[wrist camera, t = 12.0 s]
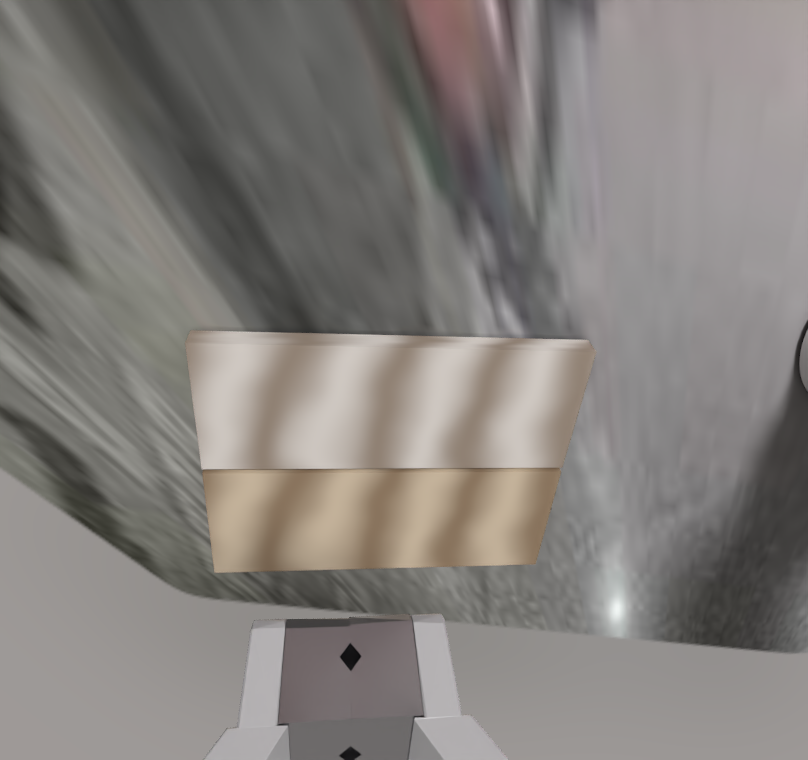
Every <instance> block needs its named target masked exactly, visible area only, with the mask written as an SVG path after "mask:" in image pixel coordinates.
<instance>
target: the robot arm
mask: <svg viewBox="0 0 808 760" xmlns="http://www.w3.org/2000/svg"><path fill="white" fill-rule="evenodd" d="M799 365H800V375H801V379H802V382H803V384H804V386H805V388H806V390H807V391H808V330H807V332H806V334H805V337H804V340H803V343H802V347H801V352H800V363H799ZM203 760H509V759H508V758H507V757H506V756H505V754H504V753H503V752H502V751H501V750H500V748H499V747H498V746H497V745H496V744H495V742H494V741H493V740H492V739H491V738H490V736H489V735H488V734H487V733H486V732H485V730H484V729H483V728H482V727H481V726H480V724H479V723H478V722H477V721H476V720H475V718H474V717H473V716H472V715H462V712H461V707H460V701H459V696H458V691H457V685H456V679H455V674H454V668H453V663H452V657H451V652H450V646H449V641H448V635H447V629H446V624H445V620H444V618H443V616H442V615H441V614H422V615H409V614H401V615H382V616H362V617H349V618H344V619H343V618H338V619H276V620H254V622H253V625H252V628H251V631H250V638H249V645H248V652H247V659H246V666H245V673H244V680H243V687H242V695H241V702H240V709H239V716H238V723H237V728H227V729H226V730H225V731H224V733H223V734H222V735H221V737H220V738H219V739H218V741H217V742H216V744H215V745H214V746H213V747H212V748H211V750H210V751H209V753H208V754H207V755H206V756H205V758H204V759H203Z"/></svg>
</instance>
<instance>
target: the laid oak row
mask: <svg viewBox="0 0 808 760" xmlns="http://www.w3.org/2000/svg"><path fill="white" fill-rule="evenodd" d="M560 474H561V471H560V469H559V468H383V469H204V470H203V482H204V491H205V499H206V507H207V515H208V523H209V531H210V539H211V547H212V556H213V564H214V572H215V573H225V572H263V571H300V570H338V569H376V568H413V567H451V566H489V565H526V564H536V560H537V557H538V553H539V550H540V546H541V542H542V539H543V535H544V532H545V528H546V524H547V521H548V517H549V514H550V510H551V506H552V503H553V499H554V496H555V492H556V488H557V485H558V481H559V478H560Z"/></svg>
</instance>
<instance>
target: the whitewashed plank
mask: <svg viewBox="0 0 808 760" xmlns="http://www.w3.org/2000/svg"><path fill="white" fill-rule="evenodd" d="M185 346H186V353H187V361H188V368H189V376H190V383H191V391H192V398H193V406H194V414H195V421H196V429H197V436H198V444H199V451H200V459H201V466H202V469H383V468H562V467H563V463H564V460H565V457H566V453H567V450H568V447H569V443H570V440H571V436H572V433H573V430H574V426H575V423H576V419H577V416H578V413H579V409H580V406H581V403H582V399H583V396H584V392H585V389H586V386H587V382H588V379H589V375H590V372H591V369H592V365H593V362H594V359H595V355H596V351H595V349H594V348H593V346H592V345H591V344H590V342H589V341H588V340H567V339H526V338H484V337H443V336H401V335H359V334H318V333H276V332H235V331H193V330H190V333H189V335H188V337H187V340H186V342H185Z"/></svg>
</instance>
